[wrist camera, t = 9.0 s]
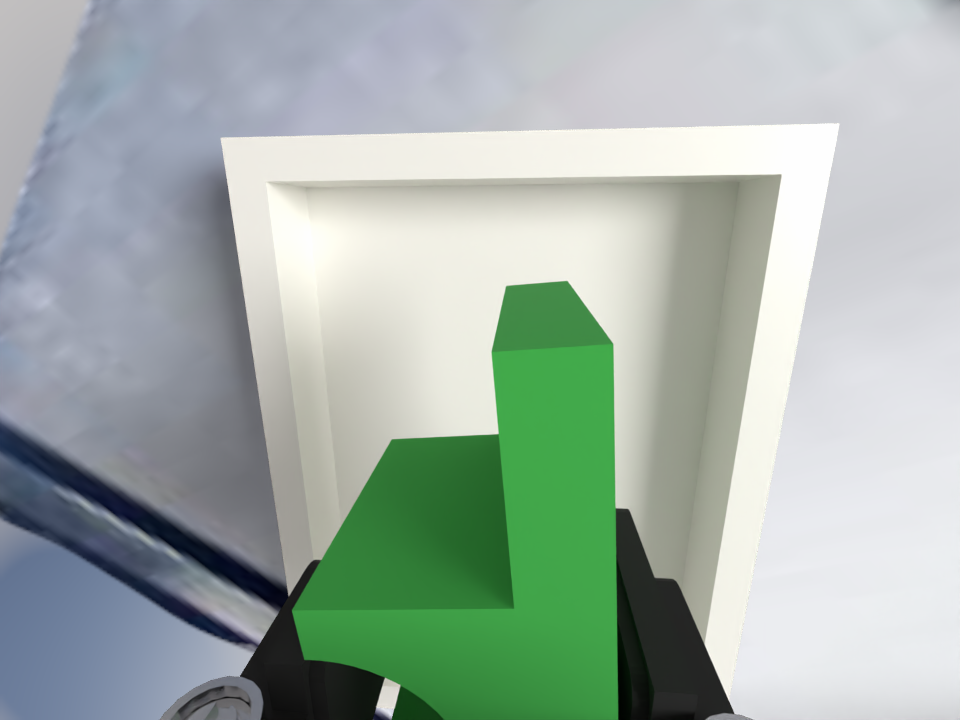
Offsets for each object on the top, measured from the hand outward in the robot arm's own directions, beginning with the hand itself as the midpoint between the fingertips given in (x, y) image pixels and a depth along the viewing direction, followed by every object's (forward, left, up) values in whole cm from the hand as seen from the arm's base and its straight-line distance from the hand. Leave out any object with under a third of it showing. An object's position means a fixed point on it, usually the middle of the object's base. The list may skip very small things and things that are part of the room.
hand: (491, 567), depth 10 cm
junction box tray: (0, 0, -7) cm, 7 cm away
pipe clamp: (0, 0, -1) cm, 1 cm away
